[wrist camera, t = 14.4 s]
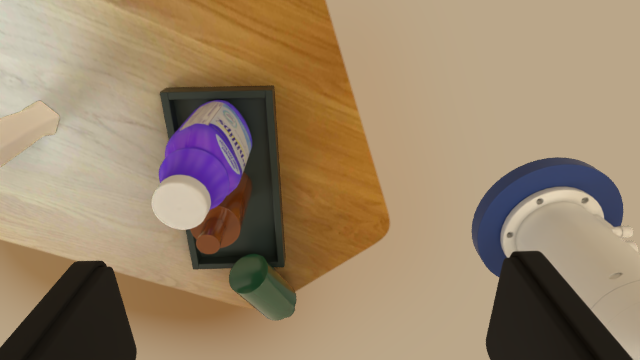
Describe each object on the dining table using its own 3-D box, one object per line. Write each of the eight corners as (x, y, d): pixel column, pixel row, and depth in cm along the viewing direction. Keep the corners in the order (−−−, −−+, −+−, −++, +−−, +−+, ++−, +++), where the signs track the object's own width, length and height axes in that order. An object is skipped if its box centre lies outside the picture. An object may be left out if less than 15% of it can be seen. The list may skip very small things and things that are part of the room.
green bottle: (276, 264, 47) (311, 303, 56) (247, 246, 50) (285, 286, 58) (248, 301, 45) (289, 335, 54) (220, 281, 48) (263, 316, 57)
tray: (274, 85, 44) (272, 90, 42) (285, 257, 54) (284, 267, 52) (166, 87, 44) (159, 92, 42) (197, 259, 53) (192, 269, 52)
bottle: (263, 146, 46) (237, 230, 30) (219, 166, 47) (173, 256, 31) (230, 88, 43) (184, 148, 28) (185, 110, 44) (115, 180, 28)
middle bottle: (250, 166, 47) (231, 220, 36) (254, 204, 49) (238, 265, 39) (207, 167, 47) (176, 222, 36) (213, 205, 49) (185, 267, 39)
